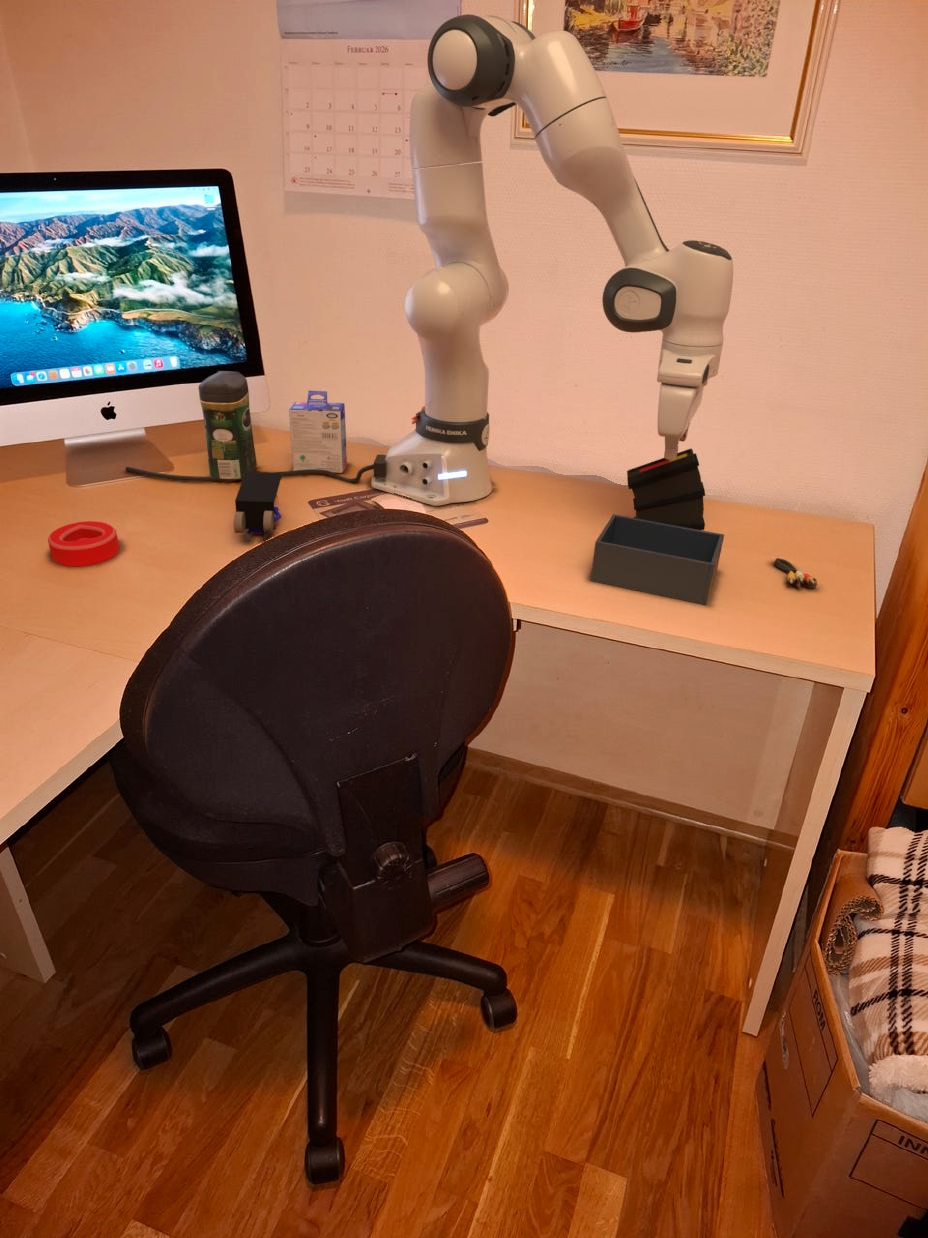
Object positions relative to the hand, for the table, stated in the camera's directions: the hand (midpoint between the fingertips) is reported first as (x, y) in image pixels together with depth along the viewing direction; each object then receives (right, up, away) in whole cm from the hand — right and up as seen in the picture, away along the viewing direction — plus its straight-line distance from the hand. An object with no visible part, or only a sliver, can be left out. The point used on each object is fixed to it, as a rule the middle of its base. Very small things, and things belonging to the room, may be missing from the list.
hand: (675, 448), depth 134 cm
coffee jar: (-77, 0, +26) cm, 81 cm away
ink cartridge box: (-61, +2, +30) cm, 68 cm away
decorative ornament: (-92, -17, -4) cm, 93 cm away
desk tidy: (-4, -21, -5) cm, 21 cm away
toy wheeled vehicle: (-67, -12, +6) cm, 68 cm away
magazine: (-1, -13, +8) cm, 16 cm away
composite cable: (+18, -21, -3) cm, 27 cm away
